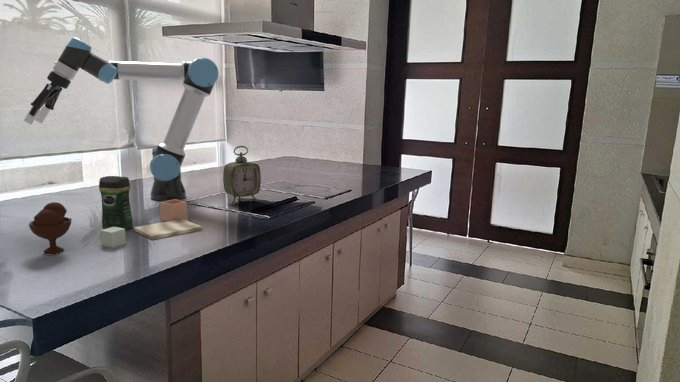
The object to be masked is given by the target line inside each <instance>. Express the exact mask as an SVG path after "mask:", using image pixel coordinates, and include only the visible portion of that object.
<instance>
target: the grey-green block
mask: <svg viewBox="0 0 680 382" xmlns="http://www.w3.org/2000/svg"><path fill="white" fill-rule="evenodd" d="M99 233H100V242H101V246H102V245H104V246H103V247H107V246H108V247H107V248H111V247H114V248H117V247H119V246H123V245H125V244H127V239H126V237H127V236H126V229H124V228H119V227H110V228H107V229H103V228H102V229H101V230H100V232H99ZM116 246H117V247H116Z"/></svg>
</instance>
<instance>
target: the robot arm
mask: <svg viewBox="0 0 680 382" xmlns="http://www.w3.org/2000/svg"><path fill="white" fill-rule="evenodd" d="M53 63H54V66H53V68H52V70H51V71H50V72H49V74H48V75H47V77H46V78H47V80H48V81H50V83H46V84H45V86H44V88H43V89H42V91H40V93H39V94H38V95H37V96H36V98H35V99H34V100H33V101H32V102H31V103H30V106H31V108H30V110H28V113H27V114H26V115H25V116H24V117H25V118H24V119H23V122H25V123H27V124H29V125H30V126H31V125H32V124H33V122H34V121H36V122H37V123H39V124H43V123H44V122H45V120H46V118H47V116H48V115H49V113H50V111H54V109H55V105H56V103H57V100H58V98H59V96H60V94H61V92H62V91H63V89H68V88H69V86H70V84H71V83H72V82H71V81H72V80H74V78H75V77H76V74H77V73H78V71H79V69H81V70H83V71H84V72H86V73H88V74H90V75H91V76H93V77H94V78H96V79H98V80H99V81H100V82H103V83H104V84H108V85H109V84H111V83H112V82H113V81H114V80H127V81H160V82H181V83H182V85H183V87H184V90H183V91H182V92H183V93H182V95H181V97H180V100H179V103H178V105H177V107H176V109H175V112H174V115H173V117H172V119H171V121H170V122H171V123H170V124H169V127H168V130H167V132H166V135H165V137H164V140H163V141H162V142H161V143H158V145H157V146H155V147H154V146H153V148H152V150H151V151H152V152H151V154H152V159H151V160H150V161H149V162H150V163H149V171H150V173H151V175H152V177H153V184H152V187H151V191H150V199H151V200H155V201H168V200H173V199H177V200H182V199H184V198H186V197H187V193H186V189H185V186H184V183H183V182H182V181H183V180H182V169H181V167H182V164H183V162H184V159H185V157H186V152H185V150H184V149H185V147H186V145H187V142H188V140H189V138H190V135H191V132H192V131H193V127H194V125H195V123H196V120H197V118H198V115H199V113H200V110H201V108H202V105H203V103H204V100H205V99H206V97H209V96H210V95H211V93H212V91H213V89H214V87H215V86H214V85H215V83H216V82H217V81H218V78H219V68H218V66H217V65H216V63H215V61H213V60H212V59H210V58H206V57H201V56H200V57H196V58H194V59H193V60H191V61H186V60H185V61H184V60H183V61H182V62H181V63H173V62H172V63H171V62H152V61H151V62H148V61H123V60H122V61H120V60H118V61H116V60H104V59H103V58H102V57H99V56H97V54H95V53H93V52H92V46H91V45H89V44H88V43H86V42H84V41H82V40H81V39H79V38H78V37H76V36H75V37H74V36H73V37H72V38H71V39H70V40H69V42H68V43H67V44H66V46H65V47H64V49H63V51H62V53H61V54H60V56H59V58H58V59H57V61H54V62H53Z"/></svg>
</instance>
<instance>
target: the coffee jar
mask: <svg viewBox="0 0 680 382" xmlns="http://www.w3.org/2000/svg"><path fill="white" fill-rule="evenodd" d="M98 189H99V192H100V196H101V226H102V230H103V229H107V228H110V227H119V228H124V229H125V230H128V229H130V228H132V227H133V226H134V223H133V215H132V208H131V202H130V190H131V184H130V179H129V178H128V176H117V175H108V176H102V177H100V178H99V181H98Z"/></svg>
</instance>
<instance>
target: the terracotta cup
mask: <svg viewBox="0 0 680 382" xmlns="http://www.w3.org/2000/svg"><path fill="white" fill-rule="evenodd" d="M187 202H188V201H186V200H182V199H173V200H162V201H159V215H160V216H159V217H160V218H159V220H160V221H162V222H167V221H173V220H178V219H185V220H187V221H189V219H188V203H187Z"/></svg>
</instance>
